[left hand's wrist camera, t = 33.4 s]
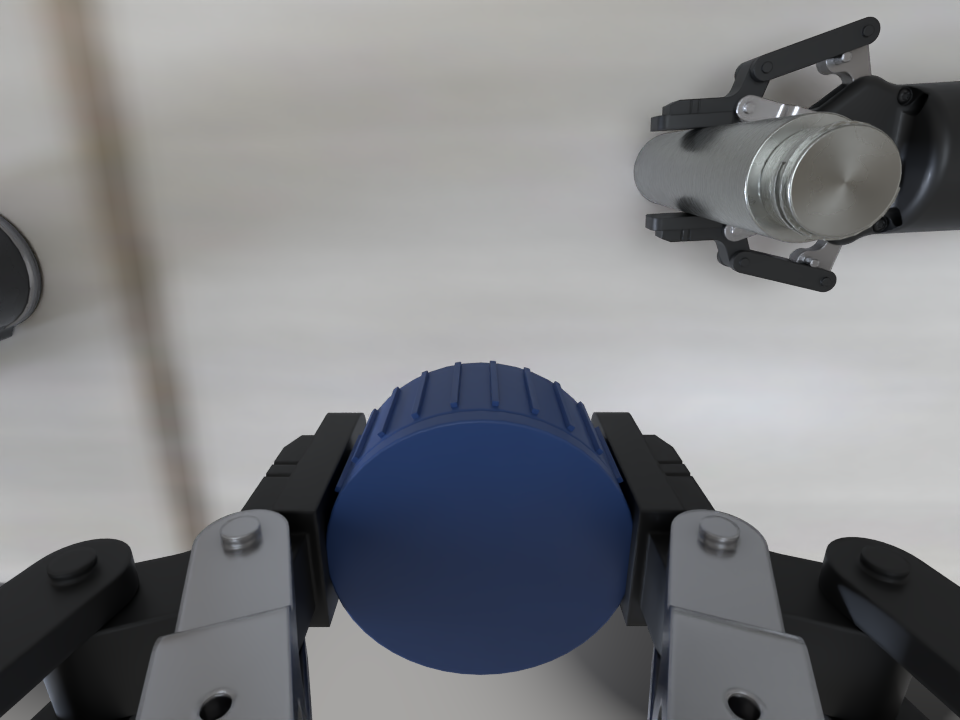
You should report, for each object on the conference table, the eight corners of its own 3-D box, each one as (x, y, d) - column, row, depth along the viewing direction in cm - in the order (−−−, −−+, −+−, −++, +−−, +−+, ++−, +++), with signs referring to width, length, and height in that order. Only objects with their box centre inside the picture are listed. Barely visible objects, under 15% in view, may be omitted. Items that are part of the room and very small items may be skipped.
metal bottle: (624, 196, 37) (751, 236, 18) (646, 125, 35) (808, 90, 17) (689, 211, 37) (878, 265, 18) (712, 141, 36) (946, 124, 17)
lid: (659, 435, 11) (708, 512, 8) (522, 613, 12) (531, 718, 10) (430, 308, 10) (414, 354, 8) (312, 515, 11) (269, 606, 9)
